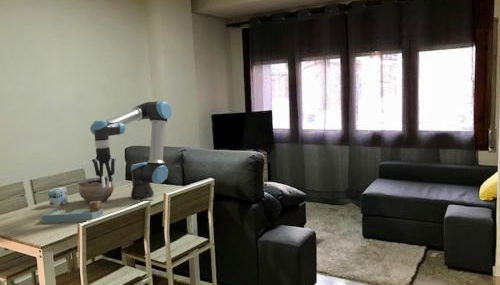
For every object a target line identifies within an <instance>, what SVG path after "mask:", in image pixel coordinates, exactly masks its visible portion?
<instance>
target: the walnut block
mask: <svg viewBox="0 0 500 285" xmlns="http://www.w3.org/2000/svg"><path fill="white" fill-rule="evenodd" d="M88 209H89V210H90V212H95V211H99V210H101V209H103V208H102V202H101V201H92V202H88Z"/></svg>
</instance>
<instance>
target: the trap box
mask: <svg viewBox="0 0 500 285" xmlns="http://www.w3.org/2000/svg"><path fill="white" fill-rule="evenodd" d="M103 215H104V208H102V209H101V210H99V211H95V212H90V210H89V208H88V209H87V208H86V209H83V208H82V209H74V210H72V211H71V212H66V210H65V209H61V210H59V207H54V208H53V209H50V210H49V211H47V212H45V213H44V214H42V215H41V223H42V224H56V223H58V224H60V223H79V222H80V223H81V222H82V223H84V222H83V221H87V220H91V219H94V218H97V217H98V218H99V217H101V216H103ZM98 218H97V219H98Z"/></svg>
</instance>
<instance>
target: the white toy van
mask: <svg viewBox="0 0 500 285" xmlns="http://www.w3.org/2000/svg"><path fill="white" fill-rule="evenodd" d="M47 194H48V202H49V203H48V204H49V207H50V208H60V207H62V206H65V205H66V203H67V204H68V203H69V198H68V197H69V196H68V189H67V186H66V187H64V186H63V187H61V186H60V187H56V188H52V189H49V190H47Z"/></svg>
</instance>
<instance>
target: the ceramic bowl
mask: <svg viewBox="0 0 500 285" xmlns="http://www.w3.org/2000/svg"><path fill="white" fill-rule="evenodd" d="M104 177H105V187H104V188H102V182H100V177H99V176H97V177H91V178H89V177H88V178H86V179H82V180H79V181H77V184H78V185H79V189H78V192H79V195H80V197H81V198H82V199H83V200H84V201H86V202H88V203H90V202H92V201H101V203H103V202H104V201H107V200H108V199H109V198H110V197H111V196H112V194H113V192H114V187H115V186H114V184H113V180H114V178H113V177H112V181H111V187H109V188H108V184H107V176H104Z"/></svg>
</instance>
